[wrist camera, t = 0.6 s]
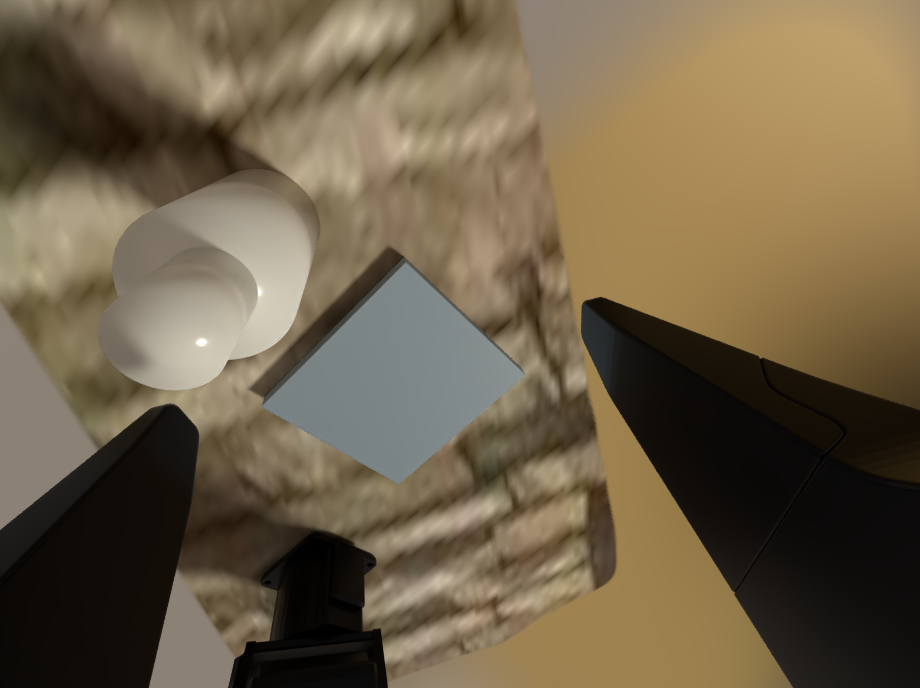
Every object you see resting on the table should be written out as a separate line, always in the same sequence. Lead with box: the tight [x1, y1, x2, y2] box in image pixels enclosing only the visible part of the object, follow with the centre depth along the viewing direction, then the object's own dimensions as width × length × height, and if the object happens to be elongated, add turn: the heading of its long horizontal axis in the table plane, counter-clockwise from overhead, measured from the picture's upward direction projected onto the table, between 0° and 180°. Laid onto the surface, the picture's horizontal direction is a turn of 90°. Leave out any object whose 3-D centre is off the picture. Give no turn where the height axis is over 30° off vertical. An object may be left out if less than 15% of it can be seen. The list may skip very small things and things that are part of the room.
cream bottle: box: [97, 169, 320, 390], centre depth 15 cm, size 5×5×12 cm
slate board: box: [262, 257, 525, 484], centre depth 26 cm, size 12×11×1 cm
